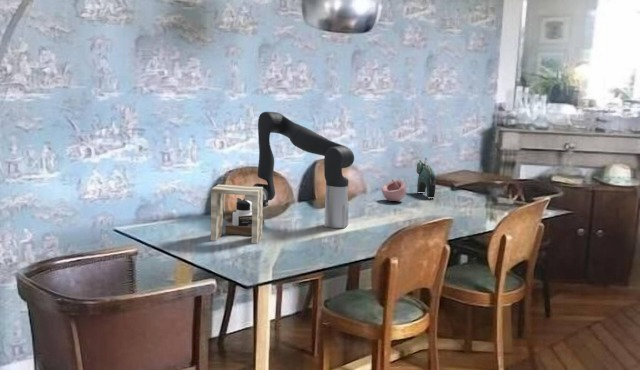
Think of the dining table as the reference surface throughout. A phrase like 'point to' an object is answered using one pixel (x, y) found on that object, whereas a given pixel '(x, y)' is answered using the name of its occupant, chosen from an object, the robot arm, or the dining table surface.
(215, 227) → the bridge
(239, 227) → the wooden base display case
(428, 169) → the green elephant figurine
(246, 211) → the medicine bottle
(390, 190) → the mortar and pestle
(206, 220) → the dining table surface
